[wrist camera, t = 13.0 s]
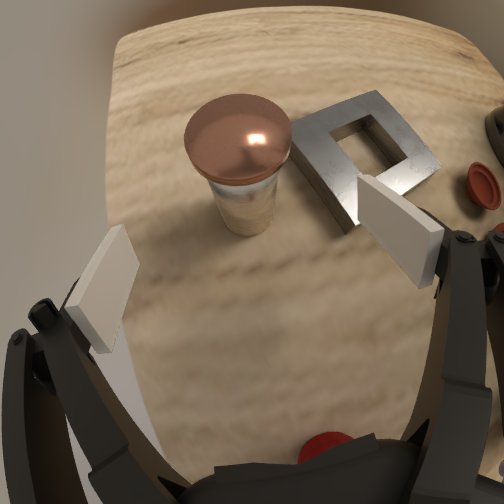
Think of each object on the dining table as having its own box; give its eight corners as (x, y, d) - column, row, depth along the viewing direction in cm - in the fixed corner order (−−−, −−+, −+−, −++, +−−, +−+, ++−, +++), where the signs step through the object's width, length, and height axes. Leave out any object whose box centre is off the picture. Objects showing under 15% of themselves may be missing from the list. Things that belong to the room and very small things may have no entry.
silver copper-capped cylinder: (257, 174, 28) (255, 81, 15) (290, 221, 27) (314, 146, 14) (206, 203, 27) (168, 122, 15) (236, 253, 26) (215, 198, 14)
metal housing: (368, 104, 30) (375, 89, 27) (429, 177, 27) (442, 166, 25) (279, 143, 29) (281, 127, 26) (346, 234, 26) (356, 225, 23)
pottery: (492, 331, 23) (515, 331, 19) (436, 183, 28) (455, 166, 23) (530, 289, 24) (550, 285, 20) (481, 164, 28) (498, 150, 24)
